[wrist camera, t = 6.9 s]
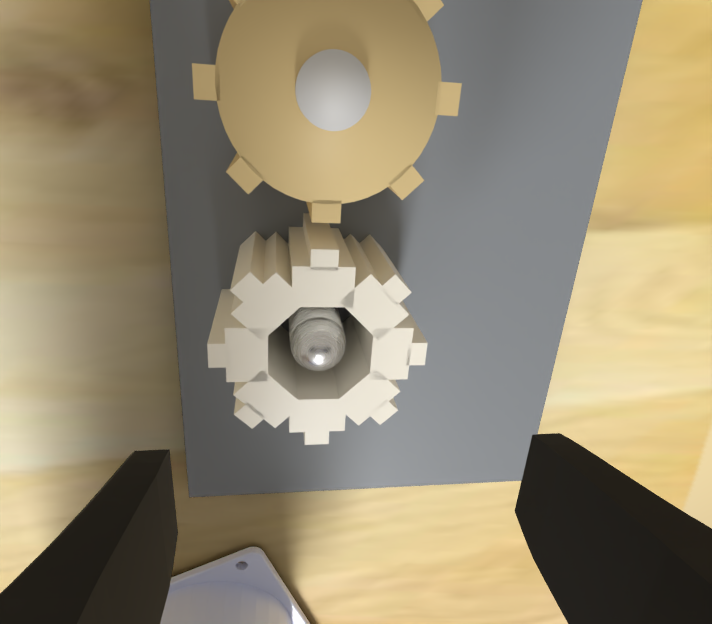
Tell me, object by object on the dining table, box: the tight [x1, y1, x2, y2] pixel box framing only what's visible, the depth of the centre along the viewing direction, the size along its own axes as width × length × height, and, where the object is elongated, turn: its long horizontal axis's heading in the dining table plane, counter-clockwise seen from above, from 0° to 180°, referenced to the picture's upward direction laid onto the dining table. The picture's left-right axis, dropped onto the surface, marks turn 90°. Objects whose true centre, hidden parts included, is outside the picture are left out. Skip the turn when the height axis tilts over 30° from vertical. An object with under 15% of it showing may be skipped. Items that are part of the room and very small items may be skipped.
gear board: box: [150, 0, 642, 497], centre depth 16 cm, size 20×14×6 cm
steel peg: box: [288, 307, 346, 371], centre depth 16 cm, size 2×2×4 cm
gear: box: [207, 213, 428, 445], centre depth 16 cm, size 6×6×4 cm
